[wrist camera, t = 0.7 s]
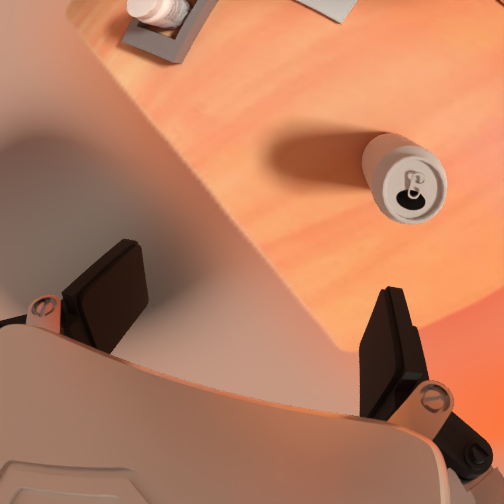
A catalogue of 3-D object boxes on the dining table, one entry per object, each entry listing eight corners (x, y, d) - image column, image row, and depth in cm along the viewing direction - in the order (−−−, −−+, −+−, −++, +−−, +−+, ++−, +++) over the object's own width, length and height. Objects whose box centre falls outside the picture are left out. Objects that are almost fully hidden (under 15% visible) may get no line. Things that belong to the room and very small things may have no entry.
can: (354, 183, 35) (365, 221, 25) (366, 125, 32) (385, 138, 21) (410, 197, 34) (438, 240, 24) (424, 141, 31) (463, 163, 20)
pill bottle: (154, 25, 30) (116, 16, 23) (169, -4, 28) (134, -19, 21) (182, 34, 31) (148, 23, 23) (198, 3, 28) (167, -14, 21)
